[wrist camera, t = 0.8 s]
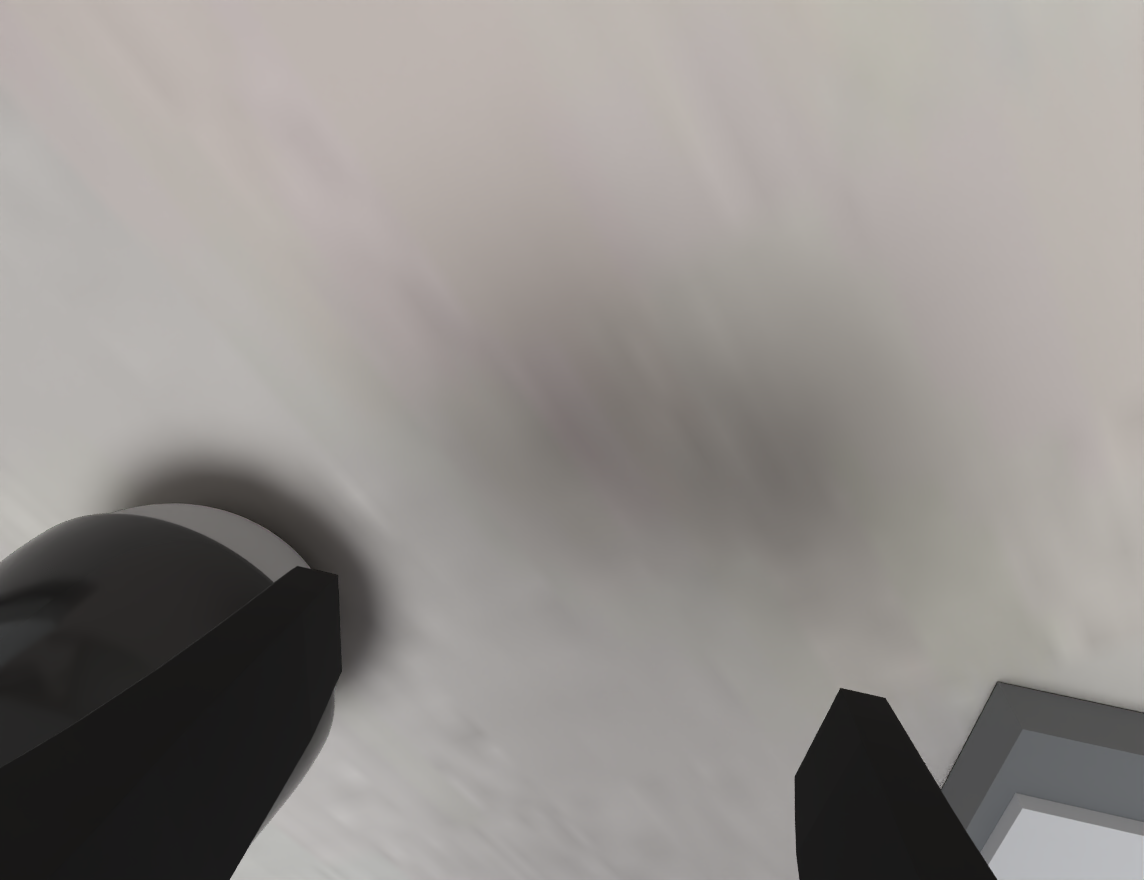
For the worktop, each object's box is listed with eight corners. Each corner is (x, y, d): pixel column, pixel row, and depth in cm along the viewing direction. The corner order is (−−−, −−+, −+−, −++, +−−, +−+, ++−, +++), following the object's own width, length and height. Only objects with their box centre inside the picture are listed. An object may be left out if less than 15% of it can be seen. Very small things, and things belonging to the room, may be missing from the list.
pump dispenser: (61, 591, 26) (-655, 1124, 12) (174, 391, 22) (-734, 866, 8) (293, 749, 27) (-112, 1383, 14) (442, 592, 23) (69, 1283, 9)
